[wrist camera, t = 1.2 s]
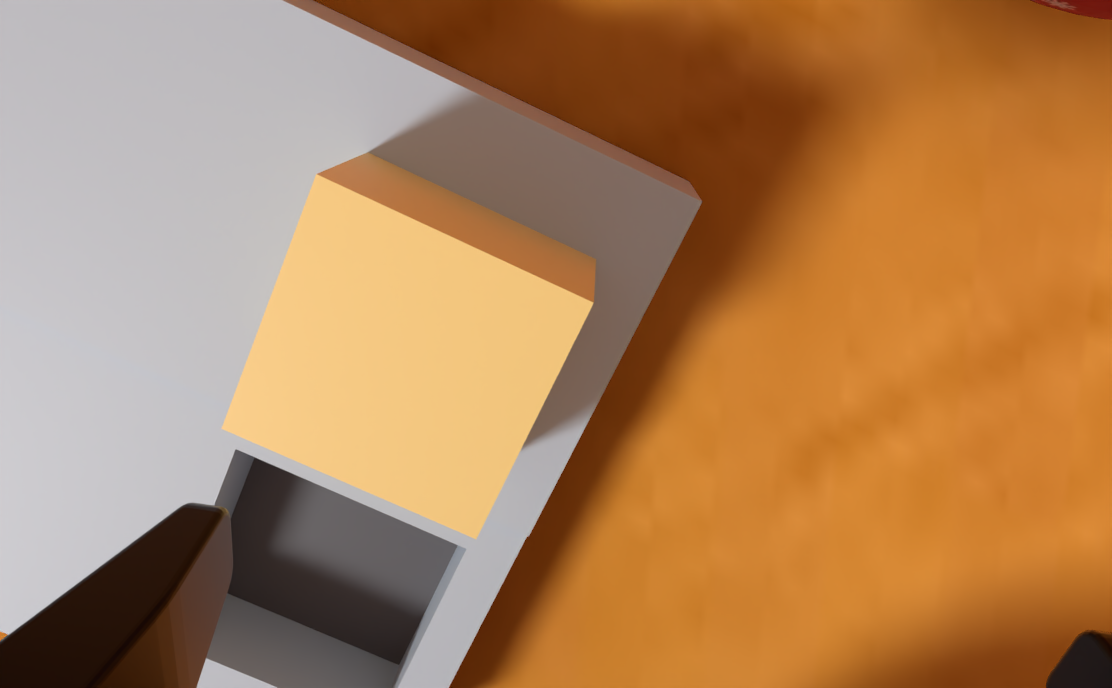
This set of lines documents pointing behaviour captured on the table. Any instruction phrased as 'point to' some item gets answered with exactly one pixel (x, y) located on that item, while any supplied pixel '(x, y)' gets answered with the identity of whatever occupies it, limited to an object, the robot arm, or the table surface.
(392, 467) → the ochre block
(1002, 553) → the table surface
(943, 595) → the table surface
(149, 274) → the trap board
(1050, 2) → the christmas ornament
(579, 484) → the table surface
